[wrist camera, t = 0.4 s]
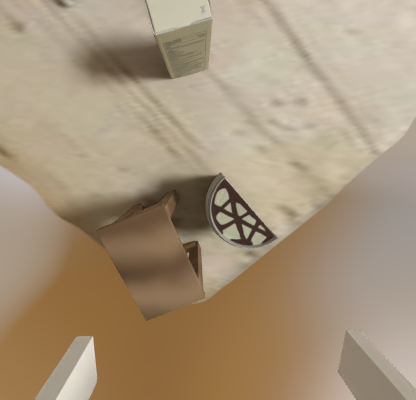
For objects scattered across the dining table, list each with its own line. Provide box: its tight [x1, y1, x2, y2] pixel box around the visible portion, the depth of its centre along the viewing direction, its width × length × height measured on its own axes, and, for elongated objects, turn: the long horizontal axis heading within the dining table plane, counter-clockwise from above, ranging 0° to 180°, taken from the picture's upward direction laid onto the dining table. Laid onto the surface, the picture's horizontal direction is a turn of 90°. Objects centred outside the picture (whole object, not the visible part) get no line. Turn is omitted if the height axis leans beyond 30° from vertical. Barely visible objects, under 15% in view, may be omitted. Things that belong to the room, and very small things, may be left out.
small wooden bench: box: [96, 190, 205, 321], centre depth 30 cm, size 13×8×13 cm, turn 21°
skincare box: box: [144, 0, 213, 79], centre depth 25 cm, size 6×4×12 cm
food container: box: [205, 173, 278, 248], centre depth 32 cm, size 12×6×10 cm, turn 41°
